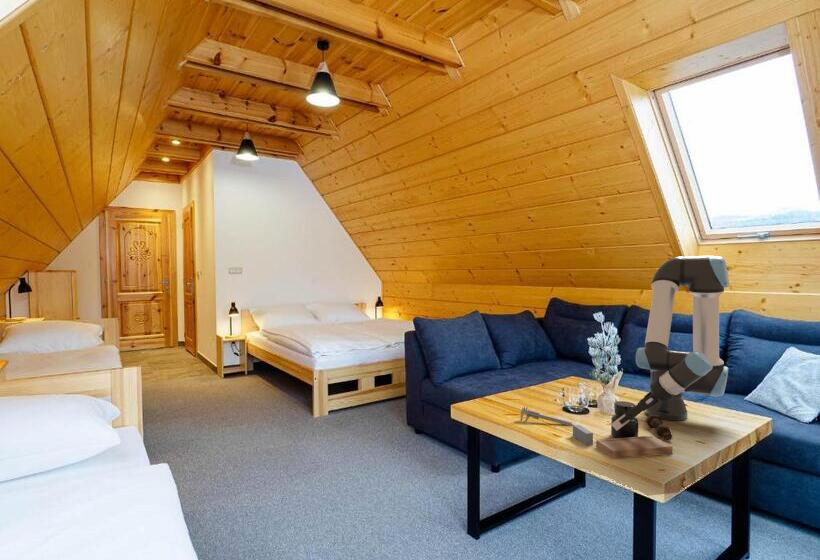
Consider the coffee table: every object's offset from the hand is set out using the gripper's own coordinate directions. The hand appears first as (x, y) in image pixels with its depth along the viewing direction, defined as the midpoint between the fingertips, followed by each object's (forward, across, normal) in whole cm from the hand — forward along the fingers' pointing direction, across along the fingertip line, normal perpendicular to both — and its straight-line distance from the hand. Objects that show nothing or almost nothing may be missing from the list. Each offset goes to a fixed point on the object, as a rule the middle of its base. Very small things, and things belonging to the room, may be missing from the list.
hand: (619, 422), depth 171 cm
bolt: (-4, +12, -11) cm, 17 cm away
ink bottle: (+3, 0, -5) cm, 6 cm away
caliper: (+22, -2, +15) cm, 27 cm away
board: (-1, -10, -9) cm, 14 cm away
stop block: (+10, -12, +3) cm, 16 cm away
